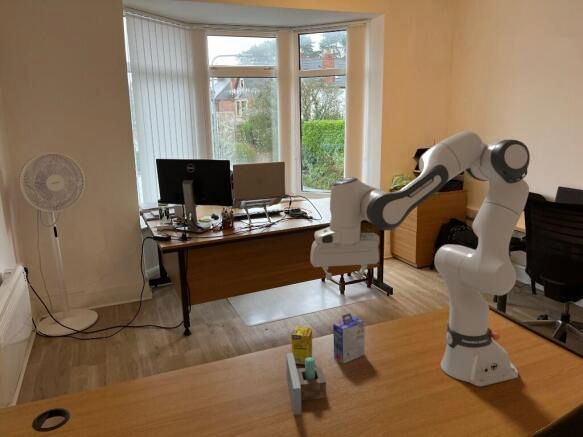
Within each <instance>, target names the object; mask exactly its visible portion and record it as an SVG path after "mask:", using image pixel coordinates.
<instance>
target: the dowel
mask: <svg viewBox="0 0 583 437" xmlns="http://www.w3.org/2000/svg"><path fill="white" fill-rule="evenodd" d="M315 360H316V359H315V358H314V357H313V356H312V357H308V358H306V359H305V366H304V368H305V380H315V367H316V361H315Z"/></svg>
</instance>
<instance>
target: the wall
mask: <svg viewBox="0 0 583 437" xmlns="http://www.w3.org/2000/svg"><path fill="white" fill-rule="evenodd" d="M285 355H286V357H285V358H286V380H287V384H288V391H289V394H290V400H291V406H292V410H293V415H294V416H298V415H302V400H301V386H300V382H299V377H298V373H297V369H298V368H297V365H295V360H294V356H293V353H292V352H288V353H286V354H285Z"/></svg>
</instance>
